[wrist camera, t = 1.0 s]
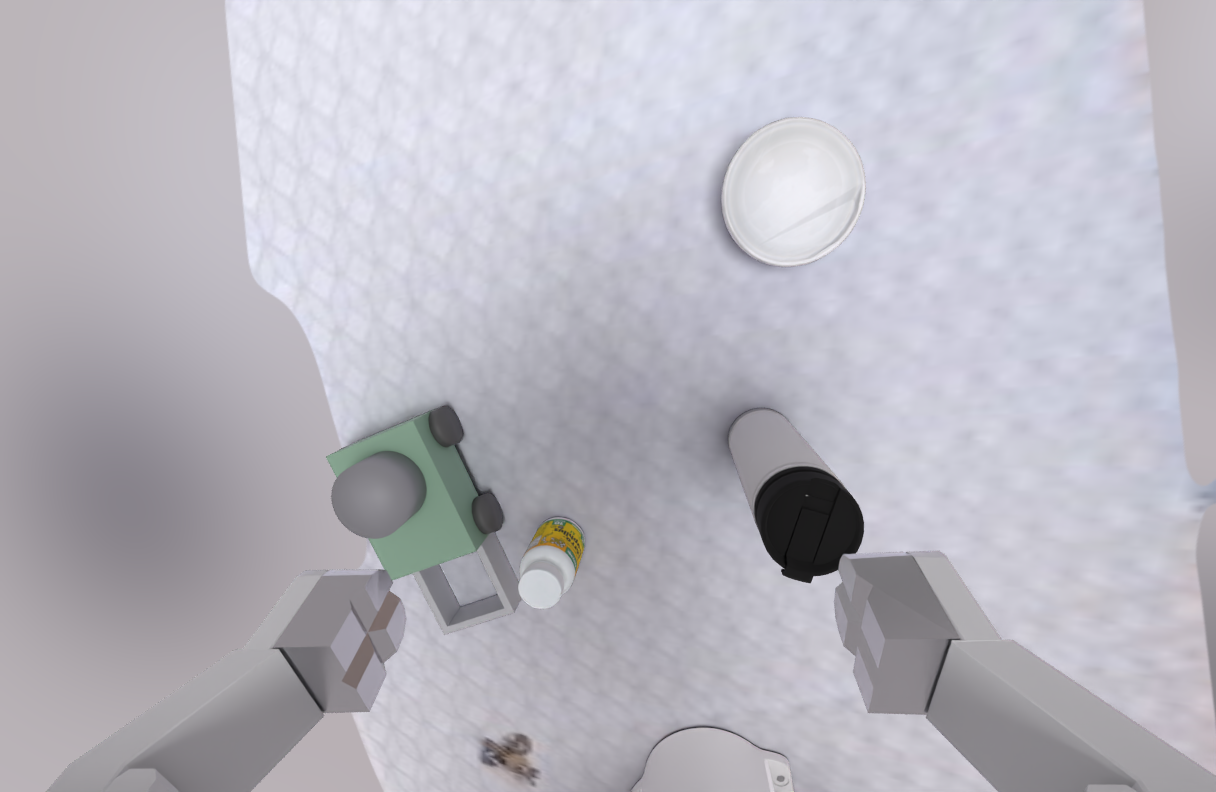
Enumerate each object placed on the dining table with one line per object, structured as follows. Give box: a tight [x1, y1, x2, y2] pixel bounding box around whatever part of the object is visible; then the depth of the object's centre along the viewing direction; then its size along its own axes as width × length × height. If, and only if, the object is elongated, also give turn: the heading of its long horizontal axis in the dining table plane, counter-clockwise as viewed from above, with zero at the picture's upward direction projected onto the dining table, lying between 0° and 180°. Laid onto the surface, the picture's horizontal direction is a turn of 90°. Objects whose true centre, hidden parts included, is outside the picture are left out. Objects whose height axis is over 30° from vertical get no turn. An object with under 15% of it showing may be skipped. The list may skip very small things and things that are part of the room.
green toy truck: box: [326, 406, 521, 635], centre depth 52 cm, size 23×12×10 cm, turn 23°
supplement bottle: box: [518, 517, 585, 609], centre depth 51 cm, size 5×5×10 cm
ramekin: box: [721, 117, 866, 267], centre depth 44 cm, size 11×11×5 cm
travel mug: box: [728, 408, 864, 583], centre depth 41 cm, size 6×7×20 cm
